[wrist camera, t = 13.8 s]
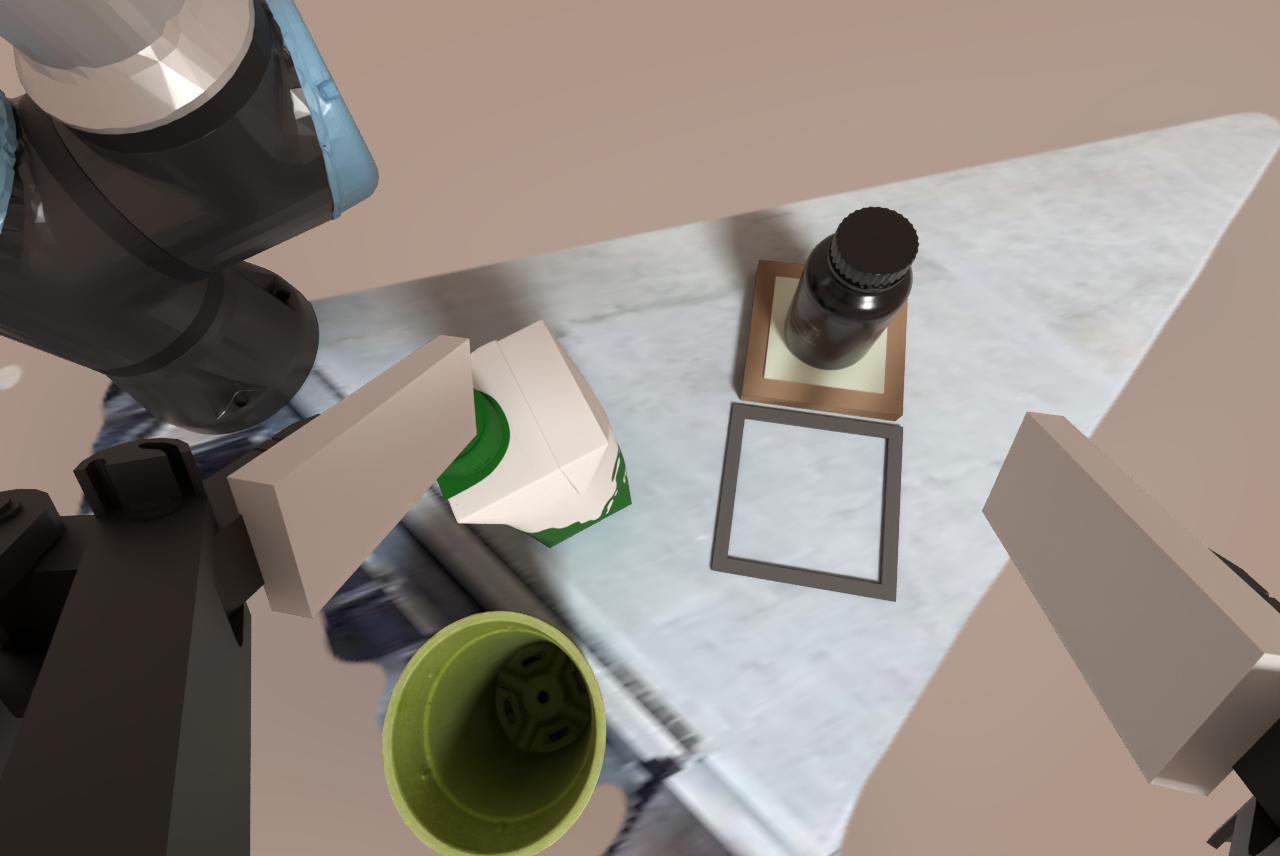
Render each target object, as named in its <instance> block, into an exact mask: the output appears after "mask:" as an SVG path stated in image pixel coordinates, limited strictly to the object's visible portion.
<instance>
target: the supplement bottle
mask: <svg viewBox="0 0 1280 856" xmlns="http://www.w3.org/2000/svg"><path fill="white" fill-rule="evenodd" d="M918 246H919V243H918V236H917V235H916V230H915V229H914V228H913V225H912V224H911V223H910V222H909V221H908V219H907V218H904V217H903V215H902V214H899V213H897V212H896V211H894V210H889V209H888V208H881V207H868V208H862V209H861V210H856V211H855V212H854V213H851V214H849V215H848V217H846V218H844V219H843V221H842V223H840V224H839V226H838V228H837V230H836V232H835V233H834V234H832V235H830V236H828V237H826V238H825V239H823V240H822V241H821V242H820V243H819V244H817V245H816V247H815V248H814V249H813V250H812V252H811V253H810V255H809V257H808V259H807V261H806V264H805V266H804V269H803V272H802V274H801V277H800V280H799V282H798V285H797V288H796V290H795V293H794V296H793V298H792V301H791V304H790V307H789V309H788V312H787V315H786V319H785V324H784V334H785V338H786V342H787V344H788V346H789V348H790V350H791V351H792V352H793V354H794V355H795V356H796V357H797V358H798V359H800V360H801V361H802V362H804V363H805V364H807V365H809V366H811V367H814V368H817V369H821V370H840V369H844V368H847V367H850V366H852V365H854V364H855V363H857V362H858V361H860V360H861V359H862V358H863V357H864V356H865V355H866V354H867V352H868V351H869V350H870V349H871V347H872V346H873V345H874V343H875V342H876V341H877V339H878V338H879V337H880V335H881V334H882V333H883V331H884V330H885V329H886V328H887V326H888V325H889V324H890V322H891V321H892V320H893V318H894V317H895V316H896V314H897V313H898V312H899V310H900V309H901V308H902V306H903V305H904V303H905V302H906V300H907V298H908V296H909V294H910V291H911V288H912V283H913V273H912V267H911V265H912V263H913V262H914V260H915V258H916V255H917V253H918Z"/></svg>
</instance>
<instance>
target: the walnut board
mask: <svg viewBox="0 0 1280 856" xmlns="http://www.w3.org/2000/svg"><path fill="white" fill-rule="evenodd" d="M804 266H805V265H801V264H792V263H783V262H773V261H764V260H759V264H758V268H757V274H756V282H755V290H754V297H753V305H752V313H751V321H750V329H749V336H748V344H747V352H746V360H745V367H744V375H743V383H742V391H741V399H740V400H743V401H751V402H758V403H765V404H773V405H780V406H787V407H795V408H802V409H809V410H817V411H824V412H832V413H839V414H846V415H854V416H861V417H868V418H876V419H883V420H890V421H896V420H897V419H899V418H900V417H901V416H902V415H903V394H904V371H905V347H906V324H907V300H908V298H907V300H906V302H905V303H904V305H903V306H902V308H901V309H900V310H899V312H898V313H897V314H896V316H895V317H894V318H893V320H892V321H891V322H890V324H889V325H888V326H887V328H886V329H885V330H884V331H883V333H882V334H881V335H880V337H879V338H878V339H877V341H876V342H875V343H874V345H873V346H872V347H871V349H870V350H869V351H868V352H867V354H866V355H865V356H864V357H863V358H862V359H861V360H860V361H858V362H857V363H855V364H854V365H852V366H850V367H847V368H844V369H840V370H821V369H817V368H814V367H811V366H809V365H807V364H805V363H804V362H802V361H801V360H800V359H798V358H797V357H796V356H795V355H794V354H793V352H792V351H791V350H790V348H789V346H788V344H787V342H786V338H785V334H784V324H785V319H786V315H787V312H788V309H789V307H790V304H791V301H792V298H793V296H794V293H795V290H796V288H797V285H798V282H799V280H800V277H801V274H802V272H803V269H804Z"/></svg>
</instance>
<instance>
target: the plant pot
mask: <svg viewBox="0 0 1280 856" xmlns="http://www.w3.org/2000/svg"><path fill="white" fill-rule="evenodd" d="M537 654H540V655H541V659H539V660H536V661H533V662H531V663H529V664H528V665H526V666H524V665H523V664H520V663H522V662H524V661H526V660H527V659H528V658H530V657H532V656H534V655H537ZM571 667H572V668H571ZM571 669H572V670H571ZM575 669H578V670H579V671H580V674H581V675H582V678H583V680H584V684H585V691H583V692H581V691H579V688H578V684H577V680H576V678H575V675H574V674H573V672H574V670H575ZM572 671H573V672H572ZM499 684H501V685H502V686H504V687H506V688H508V689H510V691H508V690H505V689H503V688H501V687H499ZM543 691H544V692H546V693H547V694H548V701H547V702H546V703H541V702H540V701H539V699H538V696H539V694H540V692H543ZM505 701H509V702H510V703H511V706H512V711H513V713H514V716H515V719H516V721H515V722H514V723H511V722H510V721H509V720H508V717H507V714H506V711H505V706H504V705H505ZM584 705H585V706H586V707H585V706H584ZM588 708H589V709H588ZM566 726H567V727H568V730H569V733H568V734H567V735H565V736H564V737H562V738H559V739H558V740H555V741H553V742H550V741H549V735H550V734H554V733H556V732H559V731H561V730H562V729H564V728H565V727H566ZM605 743H606V718H605V710H604V704H603V699H602V695H601V692H600V688H599V686H598V683H597V680H596V678H595V676H594V673H593V671H592V669H591V667H590V666H589V664H588V662H587V661H586V659H585V657H584V656H583V654H582V653H581V652H580V651H579V649H578V648H577V647H576V646H575V645H574V644H573V642H572V641H571V640H570V639H569V638H568V637H566V636H565V635H564V634H563V633H562V632H560V631H559V630H558V629H556V628H555V627H553V626H552V625H550V624H548V623H547V622H545V621H542V620H540V619H538V618H536V617H533V616H530V615H526V614H522V613H518V612H512V611H488V612H482V613H478V614H474V615H470V616H467V617H465V618H462V619H460V620H458V621H455V622H453V623H451V624H450V625H448V626H446V627H445V628H443V629H441V630H440V631H439V632H437V633H436V634H435V635H434V636H433V637H431V638H430V639H429V640H428V641H427V642H426V643H425V644H423V645H422V646H421V648H420V649H419V650H418V651H417V652H416V653H415V654H414V655H413V657H412V658H411V659H410V661H409V662H408V664H407V665H406V667H405V668H404V670H403V672H402V673H401V675H400V677H399V679H398V681H397V683H396V685H395V687H394V690H393V692H392V694H391V697H390V700H389V704H388V707H387V711H386V715H385V720H384V726H383V734H382V756H383V766H384V773H385V779H386V782H387V786H388V790H389V792H390V795H391V798H392V800H393V803H394V805H395V807H396V809H397V810H398V812H399V814H400V816H401V818H402V819H403V821H404V822H405V823H406V825H407V826H408V827H409V828H410V829H411V831H412V832H413V833H414V834H415V835H416V836H417V837H418V838H419V839H420V840H421V841H422V842H423V843H424V844H425V845H427V846H428V847H429V848H431V849H432V850H434V851H435V852H437V853H439V854H441V855H443V856H534V855H535V854H538V853H539V852H541V851H543V850H544V849H546V848H547V847H549V846H550V845H552V844H553V843H554V842H556V840H558V839H559V838H560V837H561V836H562V835H563V834H564V833H565V832H566V831H567V830H568V829H569V828H570V827H571V826H572V825H573V824H574V822H575V821H576V820H577V819H578V817H579V816H580V815H581V813H582V812H583V810H584V808H585V807H586V805H587V803H588V801H589V799H590V797H591V795H592V793H593V790H594V788H595V786H596V783H597V781H598V777H599V774H600V771H601V767H602V763H603V758H604V752H605Z"/></svg>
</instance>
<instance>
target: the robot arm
mask: <svg viewBox="0 0 1280 856" xmlns="http://www.w3.org/2000/svg"><path fill="white" fill-rule="evenodd" d="M0 36H2V37H3V38H4V39H5V40H7V41H8V42H9V43H10V44H12V45H13V49H14V56H15V64H16V69H17V73H18V76H19V79H20V81H21V83H22V85H23V87H24V89H25V91H26V94H24V95H22V96H19V97H17V98H14V99H10V98H6V97H5V94H4V92H2V91H1V90H0V335H1V336H4V337H7V338H10V339H12V340H15V341H17V342H20V343H23V344H25V345H28V346H31V347H34V348H36V349H39V350H42V351H44V352H47V353H50V354H52V355H55V356H58V357H60V358H63V359H66V360H68V361H71V362H74V363H76V364H79V365H82V366H85V367H87V368H90V369H92V370H95V371H98V372H100V373H102V374H105V375H106V376H107V377H109V378H110V379H111V380H112V381H113V382H115V383H116V384H117V385H118V386H119V387H120V388H122V389H123V390H124V391H125V392H126V393H127V394H129V395H130V396H131V397H132V398H133V399H135V400H136V401H137V402H138V403H139V404H140V405H142V406H143V407H144V408H145V409H146V410H147V411H149V412H150V413H151V414H153V415H154V416H156V417H157V418H159V419H161V420H163V421H165V422H167V423H169V424H172V425H175V426H178V427H181V428H184V429H186V430H189V431H193V432H196V433H201V434H211V435H217V434H228V433H233V432H237V431H241V430H244V429H247V428H249V427H252V426H254V425H256V424H258V423H260V422H262V421H264V420H266V419H267V418H269V417H270V416H272V415H273V414H275V413H276V412H277V411H279V410H280V409H281V408H282V407H283V406H285V405H286V404H287V403H288V402H289V401H290V400H291V399H292V398H293V396H294V395H295V394H296V393H297V392H298V390H299V389H300V388H301V386H302V385H303V383H304V382H305V380H306V378H307V377H308V375H309V373H310V371H311V368H312V366H313V363H314V360H315V357H316V353H317V348H318V337H319V333H318V324H317V320H316V316H315V314H314V311H313V309H312V307H311V305H310V304H309V302H308V301H307V299H306V298H305V297H304V296H303V295H302V294H301V293H300V292H299V291H298V290H297V289H295V288H294V287H293V286H292V285H290V284H289V283H288V282H286V281H285V280H284V279H283V278H282V277H280V276H279V275H277V274H275V273H273V272H271V271H270V270H267V269H265V268H262V267H259V266H256V265H253V264H251V263H248V262H245V261H243V260H245V259H247V258H249V257H252V256H254V255H256V254H258V253H260V252H262V251H265V250H267V249H269V248H271V247H273V246H275V245H278V244H280V243H282V242H284V241H286V240H288V239H291V238H293V237H295V236H297V235H299V234H301V233H303V232H305V231H308V230H310V229H312V228H314V227H316V226H319V225H321V224H323V223H325V222H327V221H329V220H334V219H336V218H338V217H339V216H340V215H341V213H342V212H344V211H345V210H347V209H349V208H351V207H352V206H354V205H356V204H358V203H359V202H361V201H363V200H365V199H366V198H368V197H369V196H371V195H372V194H373V192H374V190H375V189H376V187H377V185H378V179H379V176H378V169H377V167H376V165H375V162H374V160H373V158H372V156H371V154H370V152H369V150H368V148H367V146H366V144H365V142H364V140H363V138H362V136H361V134H360V132H359V130H358V128H357V126H356V124H355V122H354V120H353V118H352V116H351V114H350V112H349V110H348V108H347V106H346V104H345V102H344V100H343V98H342V96H341V94H340V93H339V91H338V89H337V87H336V85H335V82H334V80H333V78H332V76H331V74H330V72H329V71H328V69H327V67H326V64H325V62H324V61H323V58H322V56H321V54H320V52H319V51H318V48H317V46H316V44H315V42H314V40H313V38H312V37H311V35H310V33H309V31H308V29H307V27H306V25H305V23H304V21H303V19H302V17H301V15H300V13H299V11H298V9H297V7H296V5H295V3H294V1H293V0H0ZM476 435H477V432H476V419H475V407H474V394H473V381H472V369H471V356H470V343H469V338H461V337H453V336H446V335H439V336H438V337H436V338H435V339H433V340H432V341H430V342H429V343H427V344H426V345H424V346H423V347H421V348H420V349H418V350H417V351H415V352H414V353H412V354H411V355H409V356H408V357H406V358H405V359H403V360H402V361H400V362H399V363H397V364H396V365H394V366H393V367H391V368H390V369H388V370H387V371H385V372H384V373H382V374H381V375H379V376H378V377H376V378H375V379H373V380H372V381H370V382H369V383H367V384H366V385H364V386H363V387H361V388H360V389H358V390H357V391H355V392H354V393H352V394H351V395H349V396H348V397H346V398H345V399H343V400H342V401H340V402H339V403H337V404H336V405H334V406H333V407H331V408H330V409H328V410H327V411H325V412H324V413H322V414H317V415H315V416H312V417H309V418H307V419H304V420H301V421H299V422H296V423H293V424H291V425H290V426H288V427H287V428H285V429H284V430H282V431H281V432H279V433H277V434H276V435H274V436H273V437H272V440H267V441H265V442H263V443H262V444H260V445H259V446H257V447H256V448H255V451H250V452H248V453H246V454H245V455H243V456H242V457H240V458H239V459H237V460H236V461H234V462H233V463H231V464H229V465H228V466H226V467H225V468H223V469H222V470H220V471H219V472H217V473H216V474H214V475H212V476H211V477H209V478H208V479H206V480H205V481H203V482H202V480H201V477H200V474H199V472H198V469H197V466H196V464H195V461H194V458H193V455H192V453H191V450H190V447H189V445H188V444H187V443H185V442H183V441H181V440H178V439H169V438H153V439H142V440H137V441H132V442H128V443H123V444H119V445H116V446H113V447H111V448H108V449H105V450H102V451H100V452H97V453H96V454H94V455H92V456H90V457H89V458H87V459H85V460H83V461H82V462H81V463H80V464H79V465H78V466H77V467H76V468H75V470H73V472H74V474H75V476H76V478H77V480H78V482H79V484H80V486H81V488H82V490H83V492H84V494H85V496H86V498H87V500H88V502H89V504H90V506H91V509H92V511H93V513H94V515H76V516H60V515H59V514H58V512H57V510H56V508H55V506H54V504H53V502H52V500H51V498H50V497H49V495H48V493H46V492H43V491H40V490H36V489H15V490H9V491H2V492H0V856H250V757H251V749H250V748H251V614H250V611H249V609H248V606H247V603H246V601H247V599H249V598H250V596H252V595H253V594H254V593H255V592H256V591H257V590H258V589H259V588H260V587H261V586H264V589H265V592H266V594H267V597H268V600H269V603H270V606H271V609H272V611H277V612H282V613H287V614H292V615H297V616H302V617H307V618H312V619H313V618H314V617H315V615H316V614H317V613H318V612H319V611H320V610H321V609H322V608H323V606H324V605H325V604H326V603H327V602H328V601H329V600H330V599H331V597H332V596H333V595H334V594H335V593H336V592H337V591H338V590H339V589H340V587H341V586H342V585H343V584H344V583H345V582H346V581H347V580H348V578H349V577H350V576H351V575H352V574H353V573H354V572H355V571H356V569H357V568H358V567H359V566H360V565H361V564H362V563H363V562H364V560H365V559H366V558H367V557H368V556H369V555H370V554H371V553H372V551H373V550H374V549H375V548H376V547H377V546H378V545H379V544H380V542H381V541H382V540H383V539H384V538H385V537H386V536H387V535H388V533H389V532H390V531H391V530H392V529H393V528H394V527H395V526H396V525H397V523H398V522H399V521H400V520H401V519H402V518H403V517H404V516H405V514H406V513H407V512H408V511H409V510H410V509H411V508H412V507H413V505H414V504H415V503H416V502H417V501H418V500H419V499H420V498H421V496H422V495H423V494H424V493H425V492H426V491H427V490H428V489H429V487H430V486H431V485H432V484H433V483H434V482H435V481H436V480H437V478H438V477H439V476H440V475H441V474H442V473H443V472H444V471H445V469H446V468H447V467H448V466H449V465H450V464H451V463H452V462H453V461H454V459H455V458H456V457H457V456H458V455H459V454H460V453H461V452H462V450H463V449H464V448H465V447H466V446H467V445H468V444H469V443H470V441H471V440H472V439H473V438H474V437H475V436H476ZM982 512H983V513H984V515H985V516H986V518H987V520H988V521H989V523H990V525H991V526H992V528H993V530H994V531H995V533H996V534H997V536H998V538H999V539H1000V541H1001V543H1002V544H1003V546H1004V548H1005V549H1006V551H1007V552H1008V554H1009V556H1010V557H1011V559H1012V561H1013V562H1014V564H1015V566H1016V567H1017V569H1018V570H1019V572H1020V574H1021V575H1022V577H1023V579H1024V580H1025V582H1026V584H1027V585H1028V587H1029V588H1030V590H1031V592H1032V593H1033V595H1034V596H1035V598H1036V600H1037V602H1038V603H1039V605H1040V606H1041V608H1042V610H1043V611H1044V613H1045V615H1046V616H1047V618H1048V620H1049V621H1050V623H1051V624H1052V626H1053V627H1054V629H1055V631H1056V633H1057V634H1058V636H1059V637H1060V639H1061V641H1062V642H1063V644H1064V646H1065V647H1066V649H1067V651H1068V652H1069V654H1070V655H1071V657H1072V659H1073V660H1074V662H1075V664H1076V665H1077V667H1078V669H1079V670H1080V672H1081V673H1082V675H1083V677H1084V678H1085V680H1086V682H1087V683H1088V685H1089V687H1090V688H1091V690H1092V692H1093V693H1094V695H1095V696H1096V698H1097V700H1098V701H1099V703H1100V705H1101V706H1102V708H1103V710H1104V711H1105V713H1106V714H1107V716H1108V718H1109V719H1110V721H1111V723H1112V724H1113V726H1114V728H1115V729H1116V731H1117V732H1118V734H1119V736H1120V737H1121V739H1122V741H1123V742H1124V744H1125V745H1126V747H1127V749H1128V750H1129V752H1130V754H1131V755H1132V757H1133V759H1134V760H1135V762H1136V763H1137V765H1138V767H1139V768H1140V770H1141V772H1142V773H1143V775H1144V777H1145V778H1146V780H1147V782H1148V783H1149V784H1151V785H1157V786H1161V787H1167V788H1172V789H1177V790H1182V791H1187V792H1193V793H1197V794H1202V795H1207V796H1208V795H1209V794H1210V793H1211V792H1212V791H1213V790H1214V789H1215V788H1216V787H1217V786H1218V785H1219V783H1220V782H1221V781H1222V780H1223V779H1225V777H1226V776H1227V775H1228V774H1229V773H1230V772H1231V771H1232V770H1233V769H1234V770H1235V772H1236V773H1237V774H1238V776H1239V777H1240V778H1241V779H1242V781H1243V782H1244V783H1245V785H1246V786H1247V787H1248V789H1249V790H1250V791H1251V793H1252V794H1253V795H1254V796H1253V797H1252V798H1251V799H1250V800H1248V802H1246V803H1245V804H1244V805H1243V806H1242V807H1241V808H1240V809H1239V810H1238V811H1237V812H1236V813H1235V814H1234V815H1233V816H1232V817H1230V818H1229V819H1228V820H1227V821H1226V822H1225V823H1224V824H1223V825H1222V826H1221V827H1220V828H1219V829H1218V830H1217V831H1216V832H1215V833H1214V834H1213V835H1212V836H1211V837H1210V838H1209V840H1208V841H1207V843H1208V844H1210V845H1211V846H1213V847H1214V848H1216V849H1217V848H1218V847H1220V846H1221V845H1222V844H1223V843H1224V842H1231V847H1230V852H1229V856H1280V603H1279V602H1278V601H1277V600H1276V599H1275V598H1271V597H1269V595H1268V594H1269V593H1268V592H1267V591H1266V590H1265V589H1264V588H1263V587H1262V586H1260V585H1259V584H1258V583H1257V582H1256V581H1255V580H1254V579H1253V578H1251V577H1250V576H1249V575H1248V574H1247V573H1246V572H1245V571H1244V570H1243V569H1241V568H1239V567H1238V566H1236V565H1234V564H1233V563H1231V562H1230V561H1228V560H1226V559H1225V558H1223V557H1222V556H1220V555H1218V554H1217V553H1215V552H1213V551H1212V550H1211V549H1209V548H1207V547H1206V546H1205V545H1204V544H1203V543H1202V542H1201V541H1200V540H1199V539H1197V538H1196V537H1195V536H1194V535H1193V534H1192V533H1191V532H1190V531H1189V530H1188V529H1187V528H1185V527H1184V526H1183V525H1182V524H1181V523H1180V522H1179V521H1178V520H1177V519H1175V518H1174V517H1173V516H1172V515H1171V514H1170V513H1169V512H1168V511H1167V510H1166V509H1165V508H1164V507H1162V506H1161V505H1160V504H1159V503H1158V502H1157V501H1156V500H1155V499H1153V498H1152V497H1151V496H1150V495H1149V494H1148V493H1147V492H1146V491H1145V490H1144V489H1143V488H1142V487H1140V486H1139V485H1138V484H1137V483H1136V482H1135V481H1134V480H1133V479H1132V478H1131V477H1129V476H1128V475H1127V474H1126V473H1125V472H1124V471H1123V470H1122V469H1121V468H1120V467H1118V465H1116V464H1115V463H1114V462H1113V461H1112V460H1111V459H1110V458H1109V457H1107V455H1105V454H1104V453H1103V452H1102V451H1101V450H1100V449H1099V448H1098V447H1097V446H1096V445H1094V444H1093V443H1092V442H1091V441H1090V440H1089V439H1088V438H1087V437H1086V436H1085V435H1084V434H1082V433H1081V432H1080V431H1079V430H1078V429H1077V428H1076V427H1075V426H1074V425H1073V424H1071V423H1070V422H1069V421H1068V420H1067V419H1066V418H1065V417H1064V416H1057V415H1049V414H1041V413H1034V412H1027V413H1026V415H1025V417H1024V419H1023V422H1022V424H1021V426H1020V428H1019V430H1018V433H1017V435H1016V437H1015V439H1014V441H1013V444H1012V446H1011V448H1010V450H1009V453H1008V455H1007V457H1006V459H1005V461H1004V464H1003V466H1002V468H1001V470H1000V472H999V475H998V477H997V479H996V481H995V484H994V486H993V488H992V490H991V492H990V495H989V497H988V499H987V501H986V503H985V506H984V508H983V510H982Z"/></svg>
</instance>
